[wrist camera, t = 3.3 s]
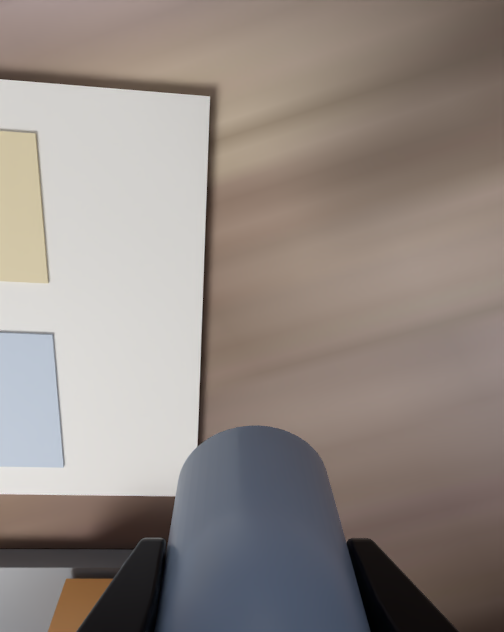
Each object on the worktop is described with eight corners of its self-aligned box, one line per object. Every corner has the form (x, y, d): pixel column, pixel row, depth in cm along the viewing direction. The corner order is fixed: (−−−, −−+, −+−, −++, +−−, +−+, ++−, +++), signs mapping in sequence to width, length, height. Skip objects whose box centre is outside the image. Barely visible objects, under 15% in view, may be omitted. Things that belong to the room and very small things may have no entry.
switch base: (193, 549, 22) (190, 608, 20) (191, 624, 24) (187, 688, 21) (-121, 548, 21) (-173, 611, 19) (-100, 627, 23) (-144, 694, 20)
